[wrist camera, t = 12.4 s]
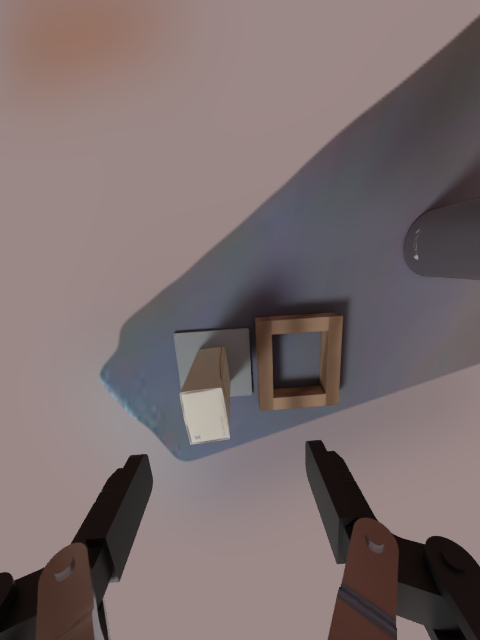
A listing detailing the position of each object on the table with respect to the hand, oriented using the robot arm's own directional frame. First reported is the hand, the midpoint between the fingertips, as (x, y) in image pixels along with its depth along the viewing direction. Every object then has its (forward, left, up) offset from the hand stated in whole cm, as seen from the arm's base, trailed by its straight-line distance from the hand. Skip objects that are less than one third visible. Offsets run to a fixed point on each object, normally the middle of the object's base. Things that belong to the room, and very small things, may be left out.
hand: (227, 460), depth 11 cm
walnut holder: (-10, +5, -23) cm, 26 cm away
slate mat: (+2, +5, -23) cm, 24 cm away
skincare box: (+3, +5, -23) cm, 24 cm away
